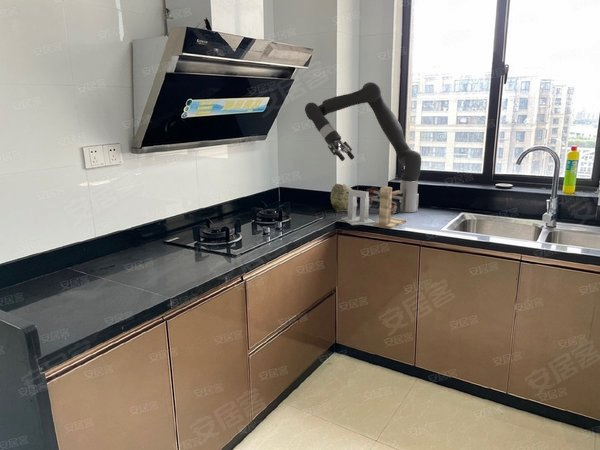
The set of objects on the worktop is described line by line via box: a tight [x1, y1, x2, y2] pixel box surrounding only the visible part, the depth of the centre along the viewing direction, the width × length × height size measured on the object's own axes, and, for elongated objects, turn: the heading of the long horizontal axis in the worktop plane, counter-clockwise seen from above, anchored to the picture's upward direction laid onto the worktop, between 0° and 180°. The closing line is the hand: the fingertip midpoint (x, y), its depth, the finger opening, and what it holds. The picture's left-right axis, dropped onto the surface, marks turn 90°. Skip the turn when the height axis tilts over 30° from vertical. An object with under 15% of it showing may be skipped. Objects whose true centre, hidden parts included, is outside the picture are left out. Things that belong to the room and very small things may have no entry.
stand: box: [372, 186, 407, 230], centre depth 217 cm, size 17×9×19 cm, turn 141°
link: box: [347, 189, 370, 222], centre depth 224 cm, size 10×4×15 cm, turn 51°
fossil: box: [330, 183, 358, 213], centre depth 250 cm, size 9×18×15 cm, turn 137°
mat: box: [341, 216, 376, 226], centre depth 225 cm, size 13×13×1 cm
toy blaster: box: [364, 186, 403, 215], centre depth 240 cm, size 4×21×15 cm, turn 89°
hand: (348, 159), depth 223 cm, fingers open, 8 cm apart
